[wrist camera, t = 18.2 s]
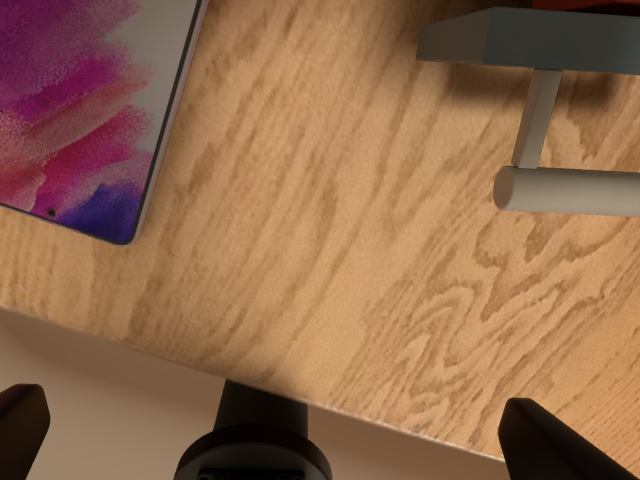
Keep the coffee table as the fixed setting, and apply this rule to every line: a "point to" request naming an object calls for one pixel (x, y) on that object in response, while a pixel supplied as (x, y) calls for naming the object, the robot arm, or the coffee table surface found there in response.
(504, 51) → the drawer
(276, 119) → the coffee table surface
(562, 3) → the block
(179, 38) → the smartphone
